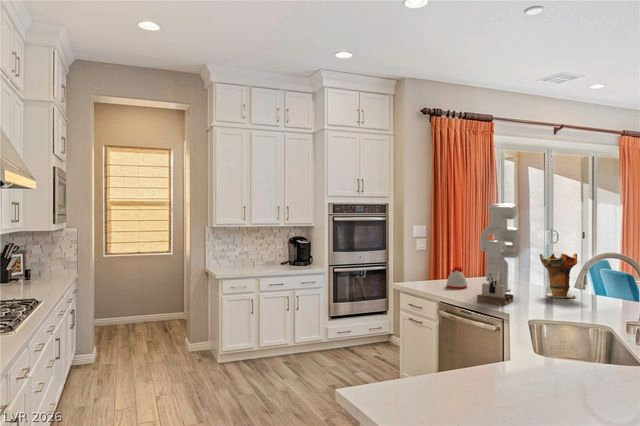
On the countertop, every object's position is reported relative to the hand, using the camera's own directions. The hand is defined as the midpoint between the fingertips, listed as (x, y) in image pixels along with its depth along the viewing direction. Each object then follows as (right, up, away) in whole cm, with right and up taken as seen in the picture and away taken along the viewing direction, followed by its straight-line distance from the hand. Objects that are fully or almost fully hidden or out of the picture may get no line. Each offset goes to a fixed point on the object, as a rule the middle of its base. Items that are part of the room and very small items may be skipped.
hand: (493, 292), depth 264 cm
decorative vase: (+49, -6, +21) cm, 54 cm away
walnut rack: (+2, -6, +3) cm, 7 cm away
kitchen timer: (-6, -6, +51) cm, 52 cm away
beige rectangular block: (0, -2, 0) cm, 2 cm away
